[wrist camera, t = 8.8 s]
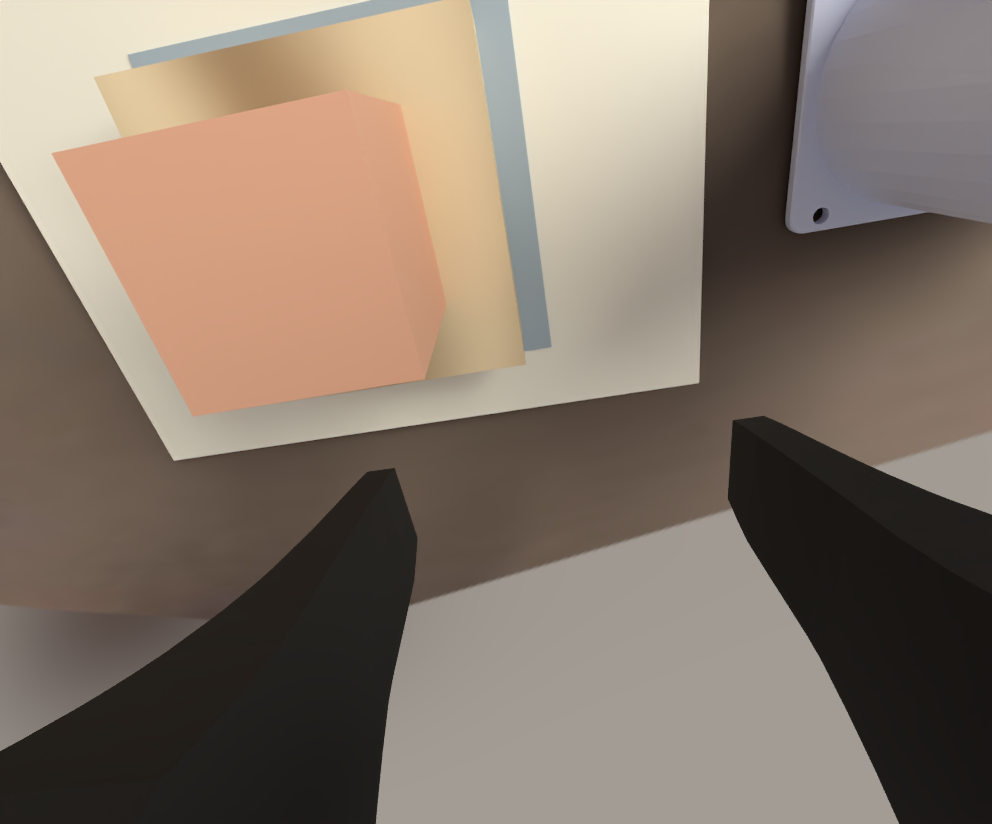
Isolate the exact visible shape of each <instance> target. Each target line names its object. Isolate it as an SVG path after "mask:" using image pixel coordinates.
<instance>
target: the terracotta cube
mask: <svg viewBox="0 0 992 824" xmlns="http://www.w3.org/2000/svg"><path fill="white" fill-rule="evenodd" d="M51 154H52V156H53V157H54V159H55V161H56V163H57V165H58V167H59V169H60V170H61V172H62V174H63V176H64V178H65V180H66V182H67V183H68V185H69V187H70V189H71V191H72V193H73V195H74V196H75V198H76V200H77V202H78V204H79V206H80V208H81V209H82V211H83V213H84V215H85V217H86V219H87V221H88V222H89V224H90V226H91V228H92V230H93V232H94V234H95V235H96V237H97V239H98V241H99V243H100V245H101V247H102V248H103V250H104V252H105V254H106V256H107V258H108V260H109V261H110V263H111V265H112V267H113V269H114V271H115V273H116V274H117V276H118V278H119V280H120V282H121V284H122V286H123V287H124V289H125V291H126V293H127V295H128V297H129V299H130V300H131V302H132V304H133V306H134V308H135V310H136V311H137V313H138V315H139V317H140V319H141V321H142V323H143V324H144V326H145V328H146V330H147V332H148V334H149V336H150V337H151V339H152V341H153V343H154V345H155V347H156V349H157V350H158V352H159V354H160V356H161V358H162V360H163V362H164V363H165V365H166V367H167V369H168V371H169V373H170V375H171V376H172V378H173V380H174V382H175V384H176V386H177V388H178V389H179V391H180V393H181V395H182V397H183V399H184V401H185V402H186V404H187V406H188V408H189V410H190V412H191V414H192V415H193V416H200V415H206V414H212V413H218V412H224V411H231V410H237V409H243V408H249V407H255V406H262V405H268V404H274V403H280V402H286V401H293V400H299V399H305V398H311V397H317V396H324V395H330V394H336V393H342V392H349V391H355V390H361V389H367V388H373V387H380V386H386V385H392V384H398V383H404V382H411V381H417V380H423V379H425V376H426V373H427V369H428V366H429V363H430V359H431V356H432V353H433V349H434V346H435V342H436V339H437V336H438V332H439V329H440V326H441V322H442V319H443V315H444V312H445V309H446V305H447V304H446V299H445V295H444V291H443V286H442V282H441V278H440V273H439V269H438V265H437V260H436V256H435V252H434V247H433V243H432V239H431V234H430V230H429V226H428V221H427V217H426V213H425V208H424V204H423V200H422V195H421V191H420V186H419V182H418V178H417V173H416V169H415V165H414V160H413V156H412V152H411V147H410V143H409V139H408V134H407V130H406V126H405V121H404V117H403V113H402V108H401V104H397V103H393V102H390V101H386V100H382V99H379V98H375V97H371V96H368V95H364V94H360V93H357V92H353V91H349V90H342V91H337V92H332V93H328V94H323V95H319V96H314V97H309V98H305V99H300V100H295V101H291V102H286V103H281V104H277V105H272V106H268V107H263V108H258V109H254V110H249V111H244V112H240V113H235V114H231V115H226V116H221V117H217V118H212V119H207V120H203V121H198V122H194V123H189V124H184V125H180V126H175V127H170V128H166V129H161V130H157V131H152V132H147V133H143V134H138V135H133V136H129V137H124V138H120V139H115V140H110V141H106V142H101V143H96V144H92V145H87V146H83V147H78V148H73V149H69V150H64V151H59V152H55V153H51Z"/></svg>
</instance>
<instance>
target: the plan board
mask: <svg viewBox="0 0 992 824" xmlns="http://www.w3.org/2000/svg"><path fill="white" fill-rule="evenodd" d="M437 1H441V0H0V162H1V164H2V166H3V168H4V169H5V171H6V173H7V175H8V176H9V178H10V180H11V181H12V183H13V185H14V187H15V188H16V190H17V192H18V193H19V195H20V197H21V199H22V200H23V202H24V204H25V205H26V207H27V209H28V211H29V212H30V214H31V216H32V218H33V219H34V221H35V223H36V224H37V226H38V228H39V230H40V231H41V233H42V235H43V236H44V238H45V240H46V242H47V243H48V245H49V247H50V248H51V250H52V252H53V254H54V255H55V257H56V259H57V261H58V262H59V264H60V266H61V267H62V269H63V271H64V273H65V274H66V276H67V278H68V279H69V281H70V283H71V285H72V286H73V288H74V290H75V291H76V293H77V295H78V297H79V298H80V300H81V302H82V304H83V305H84V307H85V309H86V310H87V312H88V314H89V316H90V317H91V319H92V321H93V322H94V324H95V326H96V328H97V329H98V331H99V333H100V334H101V336H102V338H103V340H104V341H105V343H106V345H107V347H108V348H109V350H110V352H111V353H112V355H113V357H114V359H115V360H116V362H117V364H118V365H119V367H120V369H121V371H122V372H123V374H124V376H125V377H126V379H127V381H128V383H129V384H130V386H131V388H132V390H133V391H134V393H135V395H136V396H137V398H138V400H139V402H140V403H141V405H142V407H143V408H144V410H145V412H146V414H147V415H148V417H149V419H150V420H151V422H152V424H153V426H154V427H155V429H156V431H157V433H158V434H159V436H160V438H161V439H162V441H163V443H164V445H165V446H166V448H167V450H168V451H169V453H170V455H171V457H172V458H173V460H174V461H175V460H182V459H189V458H196V457H203V456H209V455H216V454H223V453H230V452H236V451H243V450H250V449H257V448H263V447H270V446H277V445H284V444H290V443H297V442H304V441H311V440H317V439H324V438H331V437H338V436H344V435H351V434H358V433H365V432H371V431H378V430H385V429H392V428H399V427H405V426H412V425H419V424H426V423H432V422H439V421H446V420H453V419H459V418H466V417H473V416H480V415H486V414H493V413H500V412H507V411H513V410H520V409H527V408H534V407H540V406H547V405H554V404H561V403H568V402H574V401H581V400H588V399H595V398H601V397H608V396H615V395H622V394H628V393H635V392H642V391H649V390H655V389H662V388H669V387H676V386H682V385H689V384H696V383H699V368H700V330H701V292H702V254H703V216H704V178H705V140H706V102H707V63H708V25H709V0H470V4H471V9H472V14H473V18H474V23H475V29H476V35H477V42H478V48H479V55H480V61H481V68H482V74H483V81H484V87H485V94H486V100H487V107H488V113H489V120H490V126H491V133H492V139H493V146H494V152H495V159H496V165H497V172H498V178H499V185H500V191H501V198H502V204H503V211H504V217H505V224H506V230H507V237H508V243H509V250H510V256H511V263H512V269H513V276H514V282H515V289H516V295H517V302H518V308H519V315H520V321H521V328H522V337H523V345H524V353H525V362H526V365H520V366H514V367H508V368H501V369H495V370H488V371H482V372H475V373H469V374H463V375H456V376H450V377H443V378H437V379H430V380H424V381H417V382H411V383H405V384H398V385H392V386H385V387H379V388H372V389H366V390H360V391H353V392H347V393H340V394H334V395H327V396H321V397H315V398H308V399H302V400H295V401H289V402H282V403H276V404H270V405H263V406H257V407H250V408H243V409H237V410H231V411H224V412H218V413H212V414H206V415H200V416H193V415H192V414H191V412H190V410H189V408H188V406H187V404H186V402H185V401H184V399H183V397H182V395H181V393H180V391H179V389H178V388H177V386H176V384H175V382H174V380H173V378H172V376H171V375H170V373H169V371H168V369H167V367H166V365H165V363H164V362H163V360H162V358H161V356H160V354H159V352H158V350H157V349H156V347H155V345H154V343H153V341H152V339H151V337H150V336H149V334H148V332H147V330H146V328H145V326H144V324H143V323H142V321H141V319H140V317H139V315H138V313H137V311H136V310H135V308H134V306H133V304H132V302H131V300H130V299H129V297H128V295H127V293H126V291H125V289H124V287H123V286H122V284H121V282H120V280H119V278H118V276H117V274H116V273H115V271H114V269H113V267H112V265H111V263H110V261H109V260H108V258H107V256H106V254H105V252H104V250H103V248H102V247H101V245H100V243H99V241H98V239H97V237H96V235H95V234H94V232H93V230H92V228H91V226H90V224H89V222H88V221H87V219H86V217H85V215H84V213H83V211H82V209H81V208H80V206H79V204H78V202H77V200H76V198H75V196H74V195H73V193H72V191H71V189H70V187H69V185H68V183H67V182H66V180H65V178H64V176H63V174H62V172H61V170H60V169H59V167H58V165H57V163H56V161H55V159H54V157H53V156H52V154H51V153H55V152H59V151H64V150H69V149H73V148H78V147H83V146H87V145H92V144H96V143H101V142H106V141H110V140H115V139H120V138H122V137H121V135H120V133H119V131H118V128H117V126H116V124H115V122H114V120H113V118H112V116H111V113H110V111H109V109H108V107H107V105H106V103H105V101H104V98H103V96H102V94H101V92H100V90H99V88H98V86H97V83H96V81H95V79H94V77H97V76H101V75H106V74H110V73H115V72H119V71H124V70H128V69H133V68H137V67H142V66H146V65H151V64H156V63H160V62H165V61H169V60H174V59H178V58H183V57H187V56H192V55H196V54H201V53H205V52H210V51H214V50H219V49H224V48H228V47H233V46H237V45H242V44H246V43H251V42H255V41H260V40H264V39H269V38H273V37H278V36H282V35H287V34H291V33H296V32H301V31H305V30H310V29H314V28H319V27H323V26H328V25H332V24H337V23H341V22H346V21H350V20H355V19H359V18H364V17H369V16H373V15H378V14H382V13H387V12H391V11H396V10H400V9H405V8H409V7H414V6H418V5H423V4H427V3H432V2H437Z"/></svg>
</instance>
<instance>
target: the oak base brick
mask: <svg viewBox="0 0 992 824" xmlns="http://www.w3.org/2000/svg"><path fill="white" fill-rule="evenodd" d="M94 79H95V81H96V83H97V86H98V88H99V90H100V92H101V94H102V96H103V98H104V101H105V103H106V105H107V107H108V109H109V111H110V113H111V116H112V118H113V120H114V122H115V124H116V126H117V128H118V131H119V133H120V135H121V137H122V138H124V137H129V136H133V135H138V134H143V133H147V132H152V131H157V130H161V129H166V128H170V127H175V126H180V125H184V124H189V123H194V122H198V121H203V120H207V119H212V118H217V117H221V116H226V115H231V114H235V113H240V112H244V111H249V110H254V109H258V108H263V107H268V106H272V105H277V104H281V103H286V102H291V101H295V100H300V99H305V98H309V97H314V96H319V95H323V94H328V93H332V92H337V91H342V90H349V91H353V92H357V93H360V94H364V95H368V96H371V97H375V98H379V99H382V100H386V101H390V102H393V103H397V104H401V108H402V113H403V117H404V121H405V126H406V130H407V134H408V139H409V143H410V147H411V152H412V156H413V160H414V165H415V169H416V173H417V178H418V182H419V186H420V191H421V195H422V200H423V204H424V208H425V213H426V217H427V221H428V226H429V230H430V234H431V239H432V243H433V247H434V252H435V256H436V260H437V265H438V269H439V273H440V278H441V282H442V286H443V291H444V295H445V299H446V304H447V305H446V309H445V312H444V315H443V319H442V322H441V326H440V329H439V332H438V336H437V339H436V342H435V346H434V349H433V353H432V356H431V359H430V363H429V366H428V369H427V373H426V376H425V379H423V380H417V381H424V380H430V379H437V378H443V377H450V376H456V375H463V374H469V373H475V372H482V371H488V370H495V369H501V368H508V367H514V366H520V365H526V362H525V353H524V345H523V337H522V328H521V321H520V315H519V308H518V302H517V295H516V289H515V282H514V276H513V269H512V263H511V256H510V250H509V243H508V237H507V230H506V224H505V217H504V211H503V204H502V198H501V191H500V185H499V178H498V172H497V165H496V159H495V152H494V146H493V139H492V133H491V126H490V120H489V113H488V107H487V100H486V94H485V87H484V81H483V74H482V68H481V61H480V55H479V48H478V42H477V35H476V29H475V23H474V18H473V14H472V9H471V4H470V0H441V1H437V2H432V3H427V4H423V5H418V6H414V7H409V8H405V9H400V10H396V11H391V12H387V13H382V14H378V15H373V16H369V17H364V18H359V19H355V20H350V21H346V22H341V23H337V24H332V25H328V26H323V27H319V28H314V29H310V30H305V31H301V32H296V33H291V34H287V35H282V36H278V37H273V38H269V39H264V40H260V41H255V42H251V43H246V44H242V45H237V46H233V47H228V48H224V49H219V50H214V51H210V52H205V53H201V54H196V55H192V56H187V57H183V58H178V59H174V60H169V61H165V62H160V63H156V64H151V65H146V66H142V67H137V68H133V69H128V70H124V71H119V72H115V73H110V74H106V75H101V76H97V77H94ZM417 381H411V382H417ZM411 382H404V383H398V384H405V383H411ZM398 384H392V385H398ZM392 385H386V386H392ZM380 387H385V386H380ZM373 388H379V387H373ZM367 389H372V388H367ZM361 390H366V389H361ZM355 391H360V390H355ZM349 392H353V391H349ZM342 393H347V392H342ZM336 394H340V393H336ZM330 395H334V394H330ZM324 396H327V395H324ZM317 397H321V396H317ZM311 398H315V397H311ZM305 399H308V398H305ZM299 400H302V399H299ZM293 401H295V400H293ZM286 402H289V401H286ZM280 403H282V402H280ZM274 404H276V403H274ZM268 405H270V404H268ZM262 406H263V405H262ZM255 407H257V406H255ZM249 408H250V407H249Z"/></svg>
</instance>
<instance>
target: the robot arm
mask: <svg viewBox="0 0 992 824" xmlns="http://www.w3.org/2000/svg"><path fill="white" fill-rule="evenodd" d="M820 208H822V211H823V213H822V216H821V218H820V219H819V220H818V221H816V222H814V221H813V215H814V213H815V212H816V211H817V210H818V209H820ZM927 212H931V213H937V214H942V215H947V216H953V217H958V218H963V219H969V220H974V221H979V222H984V223H990V224H992V0H807V7H806V17H805V27H804V37H803V47H802V57H801V67H800V77H799V87H798V97H797V107H796V117H795V127H794V137H793V147H792V156H791V166H790V176H789V186H788V196H787V206H786V216H785V223H786V226H787V228H788V229H789V230H790V231H792V232H795V233H802V234H803V233H809V232H815V231H821V230H827V229H833V228H839V227H844V226H850V225H856V224H862V223H868V222H874V221H880V220H886V219H892V218H898V217H903V216H909V215H915V214H921V213H927ZM728 500H729V502H730V504H731V507H732V509H733V511H734V513H735V516H736V518H737V520H738V522H739V524H740V527H741V529H742V531H743V533H744V535H745V537H746V539H747V541H748V543H749V544H750V546H751V548H752V549H753V551H754V553H755V554H756V556H757V557H758V559H759V560H760V562H761V564H762V565H763V567H764V568H765V570H766V572H767V573H768V575H769V576H770V578H771V580H772V581H773V583H774V584H775V586H776V587H777V589H778V591H779V592H780V593H781V595H782V597H783V598H784V600H785V601H786V603H787V605H788V606H789V608H790V609H791V611H792V612H793V614H794V616H795V617H796V619H797V620H798V622H799V624H800V625H801V627H802V628H803V630H804V631H805V633H806V635H807V636H808V638H809V640H810V641H811V643H812V645H813V647H814V648H815V650H816V652H817V653H818V655H819V657H820V659H821V661H822V662H823V664H824V666H825V668H826V670H827V672H828V674H829V676H830V678H831V680H832V682H833V684H834V686H835V688H836V690H837V692H838V694H839V696H840V698H841V700H842V702H843V704H844V706H845V708H846V710H847V712H848V714H849V716H850V718H851V720H852V723H853V725H854V727H855V729H856V731H857V733H858V735H859V737H860V739H861V741H862V743H863V746H864V748H865V750H866V752H867V754H868V756H869V758H870V760H871V762H872V764H873V767H874V768H875V771H876V773H877V775H878V777H879V780H880V782H881V784H882V786H883V789H884V791H885V793H886V795H887V798H888V800H889V802H890V804H891V806H892V809H893V811H894V813H895V815H896V818H897V820H898V822H899V824H992V515H991V514H988V513H986V512H982V511H980V510H977V509H974V508H971V507H969V506H966V505H963V504H960V503H957V502H955V501H952V500H949V499H946V498H944V497H941V496H939V495H936V494H934V493H931V492H929V491H926V490H924V489H922V488H919V487H917V486H914V485H912V484H910V483H907V482H905V481H903V480H900V479H898V478H896V477H893V476H891V475H888V474H886V473H884V472H882V471H879V470H877V469H875V468H873V467H871V466H868V465H866V464H864V463H862V462H860V461H858V460H855V459H853V458H851V457H849V456H847V455H845V454H843V453H841V452H839V451H837V450H835V449H832V448H830V447H828V446H826V445H824V444H822V443H820V442H818V441H816V440H814V439H812V438H810V437H808V436H806V435H804V434H802V433H800V432H798V431H796V430H794V429H792V428H789V427H787V426H785V425H783V424H781V423H779V422H777V421H774V420H772V419H770V418H767V417H765V416H760V417H753V418H746V419H739V420H733V426H732V442H731V457H730V473H729V488H728ZM416 552H417V535H416V532H415V529H414V526H413V523H412V520H411V517H410V514H409V511H408V508H407V505H406V502H405V499H404V496H403V492H402V489H401V486H400V483H399V480H398V477H397V474H396V471H395V468H392V469H384V470H377V471H370V472H367V473H366V474H365V475H364V476H363V477H362V478H361V479H360V480H359V481H358V482H357V483H356V484H355V485H354V486H353V487H352V488H351V489H350V490H349V491H348V492H347V494H346V495H345V496H344V497H343V498H342V499H341V500H340V501H339V502H338V503H337V504H336V505H335V506H334V507H333V509H332V510H331V511H330V512H329V513H328V514H327V515H326V516H325V517H324V518H323V519H322V520H321V521H320V522H319V523H318V524H317V525H316V526H315V527H314V529H313V530H312V531H311V532H310V533H309V534H308V535H307V536H306V537H305V538H304V539H303V540H302V541H300V542H299V543H298V544H297V545H296V546H295V547H294V548H293V549H292V550H291V551H290V552H289V553H288V554H287V555H286V556H285V557H284V558H283V559H282V560H281V561H280V562H279V563H278V564H277V565H276V566H275V567H274V568H273V569H271V570H270V571H269V572H268V573H267V574H266V575H265V576H264V577H263V578H261V579H260V580H259V581H258V582H257V583H256V584H254V585H253V586H252V587H251V588H250V589H249V590H247V591H246V592H245V593H244V594H242V595H241V596H240V597H239V598H238V599H236V600H235V601H234V602H233V603H232V604H230V605H229V606H228V607H227V608H225V609H224V610H223V611H222V612H220V613H219V614H218V615H216V616H215V617H214V618H212V619H211V620H210V621H208V622H207V623H205V624H204V625H203V626H201V627H200V628H199V629H197V630H196V631H194V632H193V633H192V634H190V635H189V636H188V637H186V638H185V639H184V640H182V641H181V642H179V643H178V644H177V645H175V646H174V647H173V648H171V649H170V650H169V651H167V652H165V653H164V654H163V655H161V656H160V657H158V658H156V659H155V660H154V661H152V662H150V663H149V664H147V665H146V666H145V667H143V668H141V669H140V670H139V671H137V672H135V673H134V674H132V675H131V676H129V677H127V678H126V679H124V680H123V681H121V682H120V683H118V684H116V685H115V686H113V687H111V688H110V689H108V690H107V691H105V692H103V693H102V694H100V695H99V696H97V697H95V698H94V699H92V700H90V701H89V702H87V703H85V704H84V705H82V706H80V707H79V708H77V709H75V710H74V711H72V712H70V713H68V714H66V715H64V716H63V717H61V718H59V719H58V720H55V721H54V722H52V723H50V724H48V725H47V726H45V727H43V728H42V729H40V730H38V731H36V732H34V733H32V734H31V735H29V736H27V737H26V738H24V739H22V740H20V741H18V742H17V743H15V744H13V745H11V746H9V747H7V748H6V749H4V750H2V751H0V824H376V814H377V803H378V792H379V782H380V772H381V763H382V752H383V744H384V736H385V727H386V719H387V710H388V702H389V696H390V690H391V685H392V680H393V675H394V670H395V666H396V661H397V657H398V652H399V647H400V643H401V639H402V634H403V630H404V625H405V621H406V616H407V611H408V607H409V602H410V597H411V593H412V588H413V583H414V575H415V565H416Z"/></svg>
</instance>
